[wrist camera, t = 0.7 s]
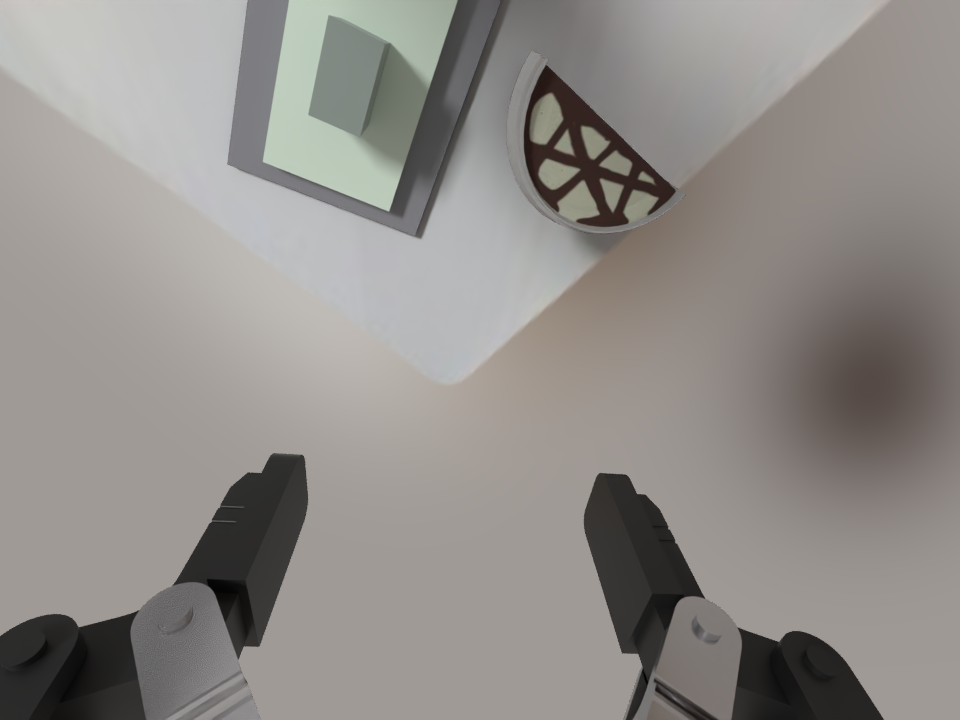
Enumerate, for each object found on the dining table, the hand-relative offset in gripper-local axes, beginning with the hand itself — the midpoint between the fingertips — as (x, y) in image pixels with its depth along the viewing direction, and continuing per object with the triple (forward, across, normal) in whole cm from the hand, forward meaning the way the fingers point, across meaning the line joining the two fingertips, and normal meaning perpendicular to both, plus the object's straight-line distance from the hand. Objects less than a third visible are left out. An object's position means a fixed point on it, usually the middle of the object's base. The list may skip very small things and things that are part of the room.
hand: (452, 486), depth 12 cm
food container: (+28, -6, -7) cm, 30 cm away
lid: (+26, +7, -10) cm, 29 cm away
